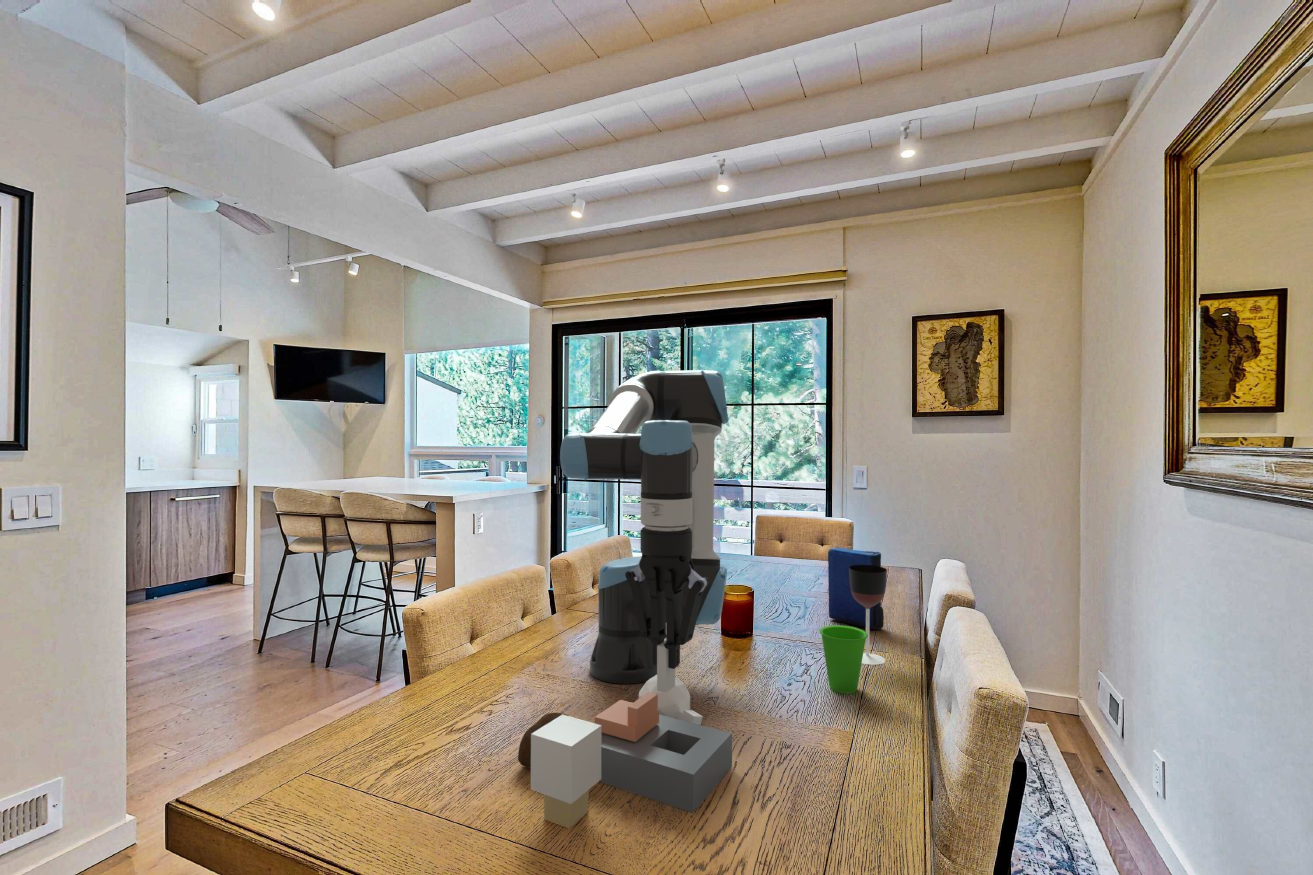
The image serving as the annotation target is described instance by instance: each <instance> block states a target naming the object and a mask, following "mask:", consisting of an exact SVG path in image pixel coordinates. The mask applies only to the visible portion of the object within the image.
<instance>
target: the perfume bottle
mask: <svg viewBox="0 0 1313 875" xmlns="http://www.w3.org/2000/svg"><path fill="white" fill-rule="evenodd" d="M648 692H651V693H655V694H658V709H659V715H663V716H667V717H671V718H675V719H679V720H683V721H687V722H691V723H695V724H698V725H701V724H702V720H703V718H704V716H703V715H701V714H699V713H698V712H696V711H694V710H693V709H691V694H690V692H689V690H688V688H687V686H686V684H685V683H684V681H683V682H682V680H680V679H679V678H678V677H676V676H675V686H674V687H673V688H672V689H670V690H669V691H668V692H666V693H665V692H661V691H657V675H655V676H654V677H652V678H651V679H649V680H648V681H645V683H644V685H643V686H642V687H641V689H640V690H639V691H638V699H639V698H641V697H642V696H644V695H645V694H646V693H648Z"/></svg>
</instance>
